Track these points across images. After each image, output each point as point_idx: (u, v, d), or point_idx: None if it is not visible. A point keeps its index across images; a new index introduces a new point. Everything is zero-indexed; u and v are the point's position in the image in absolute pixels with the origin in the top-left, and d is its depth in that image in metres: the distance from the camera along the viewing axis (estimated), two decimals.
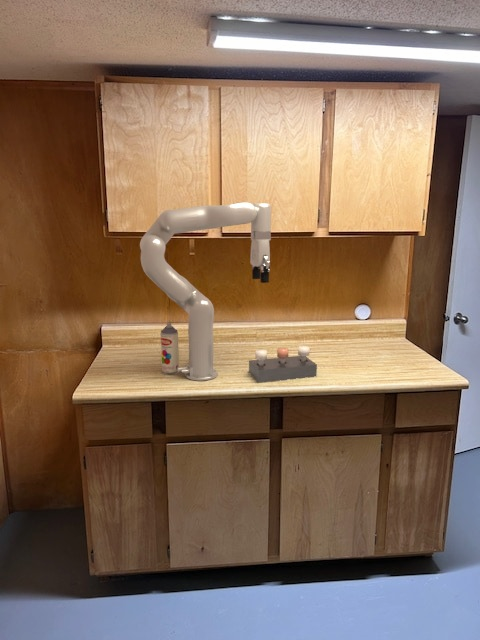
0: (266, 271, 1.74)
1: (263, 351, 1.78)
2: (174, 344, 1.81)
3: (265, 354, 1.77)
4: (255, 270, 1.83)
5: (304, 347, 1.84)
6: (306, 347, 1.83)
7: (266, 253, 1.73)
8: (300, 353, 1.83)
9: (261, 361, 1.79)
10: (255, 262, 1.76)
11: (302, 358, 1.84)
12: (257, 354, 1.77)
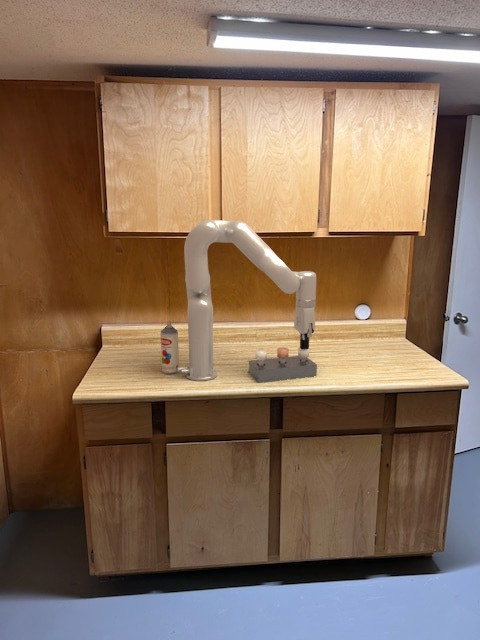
0: None
1: (263, 351, 1.78)
2: (174, 344, 1.81)
3: (265, 354, 1.77)
4: None
5: None
6: None
7: (312, 321, 1.76)
8: (300, 354, 1.83)
9: (261, 361, 1.79)
10: (300, 329, 1.79)
11: (302, 359, 1.84)
12: (257, 354, 1.77)
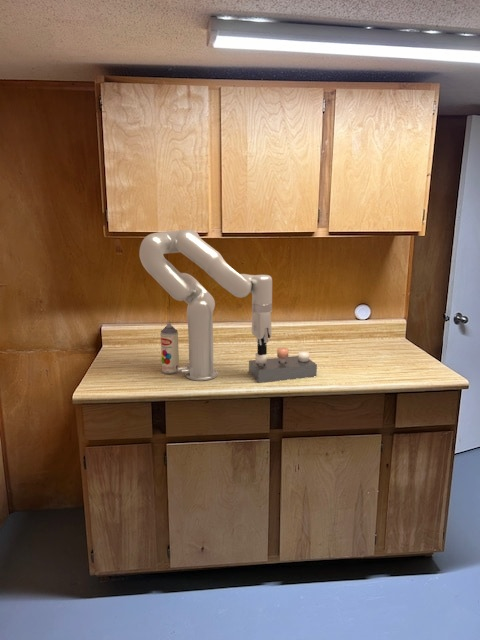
0: None
1: None
2: (174, 344, 1.81)
3: (265, 357, 1.78)
4: None
5: (304, 352, 1.85)
6: (306, 353, 1.84)
7: (268, 326, 1.71)
8: (300, 359, 1.83)
9: (261, 364, 1.79)
10: (256, 334, 1.74)
11: None
12: (257, 357, 1.78)
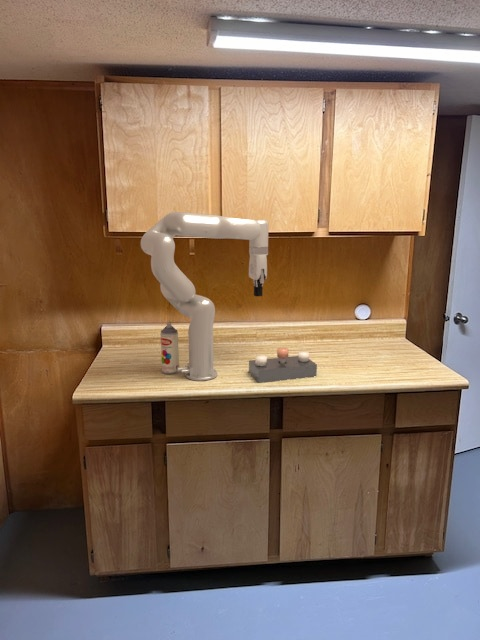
0: None
1: (263, 357, 1.79)
2: (174, 344, 1.81)
3: (265, 360, 1.78)
4: None
5: (304, 352, 1.85)
6: (306, 353, 1.84)
7: (263, 267, 1.83)
8: (300, 359, 1.83)
9: None
10: (253, 276, 1.85)
11: None
12: (257, 360, 1.78)
